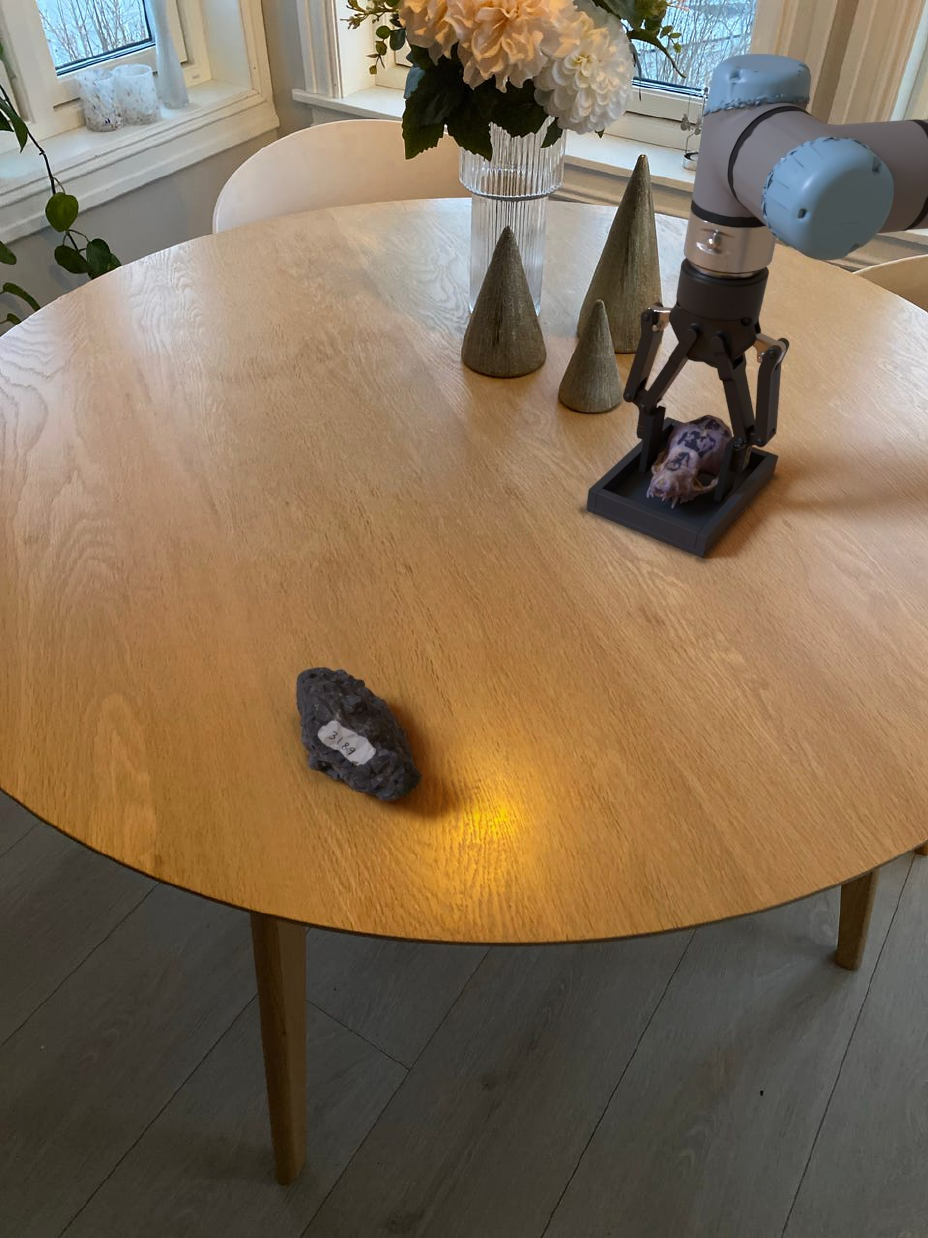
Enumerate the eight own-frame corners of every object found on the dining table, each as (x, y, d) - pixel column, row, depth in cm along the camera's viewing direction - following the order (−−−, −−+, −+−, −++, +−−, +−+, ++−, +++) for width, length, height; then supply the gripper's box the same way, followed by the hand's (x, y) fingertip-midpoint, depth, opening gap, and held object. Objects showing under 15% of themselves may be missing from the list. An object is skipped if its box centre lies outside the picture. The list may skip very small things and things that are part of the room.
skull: (679, 519, 93) (683, 462, 90) (616, 495, 98) (618, 440, 94) (748, 475, 100) (755, 420, 96) (686, 455, 104) (690, 401, 101)
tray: (773, 475, 102) (779, 455, 100) (702, 558, 92) (707, 537, 90) (663, 436, 108) (667, 416, 106) (586, 510, 97) (588, 489, 96)
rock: (245, 676, 73) (349, 634, 68) (314, 679, 80) (412, 641, 76) (278, 832, 70) (388, 799, 66) (346, 820, 77) (449, 789, 73)
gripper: (600, 247, 85) (579, 463, 101) (826, 308, 76) (765, 534, 92) (640, 221, 90) (614, 432, 105) (858, 276, 81) (795, 497, 96)
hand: (684, 480), depth 98 cm, fingers closed on skull, 8 cm apart
